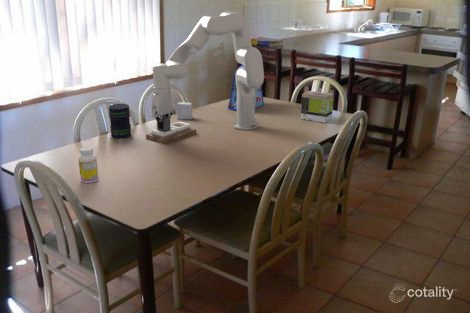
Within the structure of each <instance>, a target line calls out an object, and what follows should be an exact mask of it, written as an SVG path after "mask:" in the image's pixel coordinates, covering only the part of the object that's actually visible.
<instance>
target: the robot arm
mask: <svg viewBox="0 0 470 313" xmlns="http://www.w3.org/2000/svg"><path fill="white" fill-rule="evenodd" d="M246 23H247V22H246V18H245V15H243V14H242V13H241V12H238V11H232V10H231V11H230V10H226V11H223V12H221V13H220V15H217V16H215V15H203V16H202V17H201V18H200V20H199V21H198V22H197V24H196V25H195V26H194V28H193V29H192V30H191V33H190V34H189V35H188V37H187V38H186V40H185V41H184V42H183V43H181V44H180V45H179V46H178V47H177V48H176V49H175V50H174V51H173V53H172V54H171V55H170V57H169V58H168V60H167V61H166V63H162V62H161V63H155V64H154V65H153V66H152V78H153V79H152V80H153V94H152V98H151V113H152V115H151V117H152V118H153V119H154V120H155V121H156V124H157V123H158V129H163V121H162V115H166V117H168V118H170V120H171V119H172V115H173V114H174V112H175V109H174V102H173V96H172V92H171V89H172V87H171V80H175V81H176V80H178V81H180V80H182V79H185V78H186V76H187V75H188V69H187V67H186V66H185V65H184V64H185V62H186V61H187V60H188V59H189V58H191V57H192V56H194V55H197V54H199V53H200V52H201V51H203V49H204V47H205V46H207V43H208V42H209V40H210V39H211V37H212V36H222V35H227V34H229V35H230V34H231V36H232V41H233V47H234V48H233V50H234V58H235V61H236V62H237V63H238V64H240V65H241V66H242V65H245V66H243V67H240V66H239V67H240V68H239V69H238V70H237V72H236V75H235V80H236V87H237V110H236V122H234V123H233V127H234V128H235V129H236V130H243V131H249V130H254V129H255V130H256V129H257V128H259V127H260V126H261V122H259V121H257V118H255V117H256V114H255V113H256V108H255V89H257V88H259V87H261V88H262V85H263V84H264V81H265V80H264V79H265V75H264V74H265V72H264V63H263V55H262V53H261V51H260V50H259V49H258V48H257V47H254V46H253V45H252V40H251V36H250V35H251V34H250V30H249V27H248V26H247V24H246ZM159 117H160V118H159Z"/></svg>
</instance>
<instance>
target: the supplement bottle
mask: <svg viewBox="0 0 470 313" xmlns="http://www.w3.org/2000/svg"><path fill="white" fill-rule="evenodd" d="M79 153H80V154H79V156H78V157H77V158H78V159H77V162H78V168H79V175H80V176H79V177H80V180H81V182H82V183H85V184H88V183H89V184H91V183H95V182H97V181H99V180H100V176H99V168H98V158H97V154H95V153H94V148H93V147H91V146H84V147H80V148H79Z"/></svg>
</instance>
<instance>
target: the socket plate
mask: <svg viewBox="0 0 470 313" xmlns="http://www.w3.org/2000/svg"><path fill="white" fill-rule="evenodd" d="M170 125H171V130H170V131H167V132H162V131H158V130H157V128H154V129H152V130H151V133H152V135H153V136H156V137H160V138H166V137H169V136H172V135H175V134H177V133H180V132H183V131H186V130H189V129H190V128H191V123H188V122H184V121H180V120H179V121H176V122H173V123H170Z"/></svg>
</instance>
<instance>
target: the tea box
mask: <svg viewBox="0 0 470 313" xmlns="http://www.w3.org/2000/svg"><path fill="white" fill-rule="evenodd" d="M300 106H301V107H300V108H301V111H300V120H304V119H305V120H306V121H310V120H311V121H312V122H316V123H317V122H318V123H324V124H325V123H328V122H330V121H331V120H332V118H333V109H334V108H333V106H334V93H330V92H329V93H328V92H320V91H312V90H308V91H306V92H304V93H302V94H301V104H300Z"/></svg>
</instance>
